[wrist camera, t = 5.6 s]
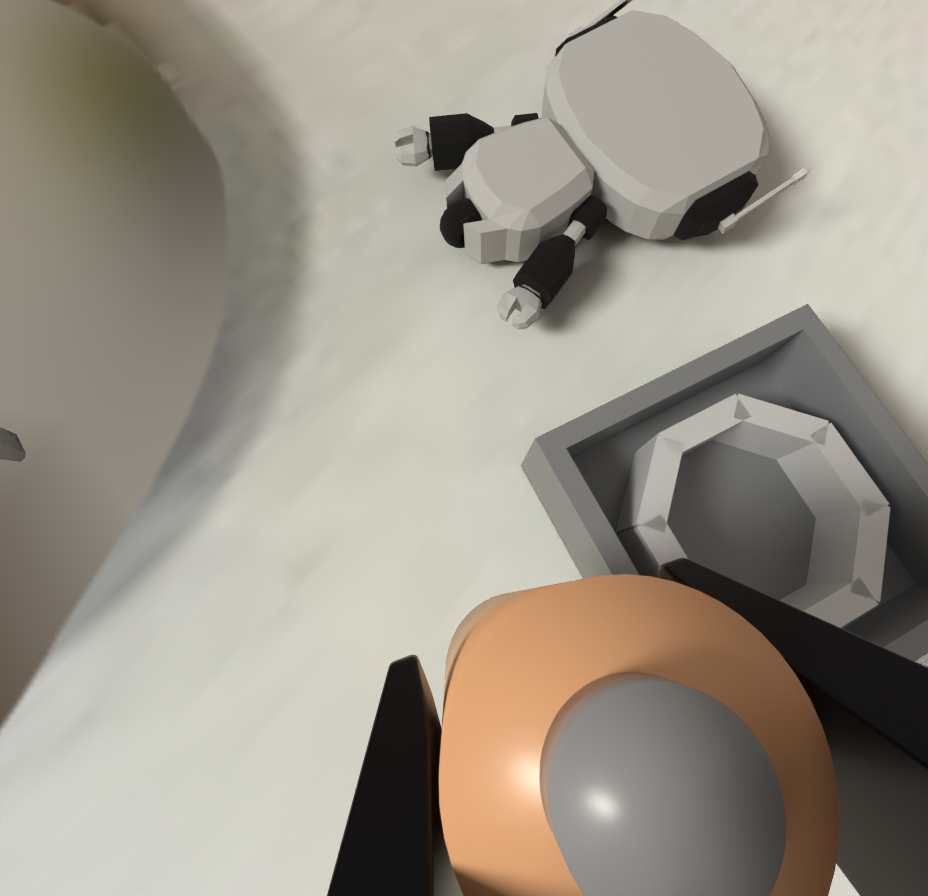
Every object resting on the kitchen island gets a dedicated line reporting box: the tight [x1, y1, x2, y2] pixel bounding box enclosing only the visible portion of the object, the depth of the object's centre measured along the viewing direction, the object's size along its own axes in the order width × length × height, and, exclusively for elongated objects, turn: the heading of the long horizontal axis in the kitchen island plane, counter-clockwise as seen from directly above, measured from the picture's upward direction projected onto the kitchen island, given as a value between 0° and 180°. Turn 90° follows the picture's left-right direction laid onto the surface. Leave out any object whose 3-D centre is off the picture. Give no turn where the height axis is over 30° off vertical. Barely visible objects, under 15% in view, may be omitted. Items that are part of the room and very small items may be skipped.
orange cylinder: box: [439, 574, 840, 896], centre depth 10 cm, size 4×4×10 cm
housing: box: [521, 304, 928, 661], centre depth 21 cm, size 12×12×4 cm
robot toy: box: [395, 0, 812, 329], centre depth 25 cm, size 12×4×15 cm
